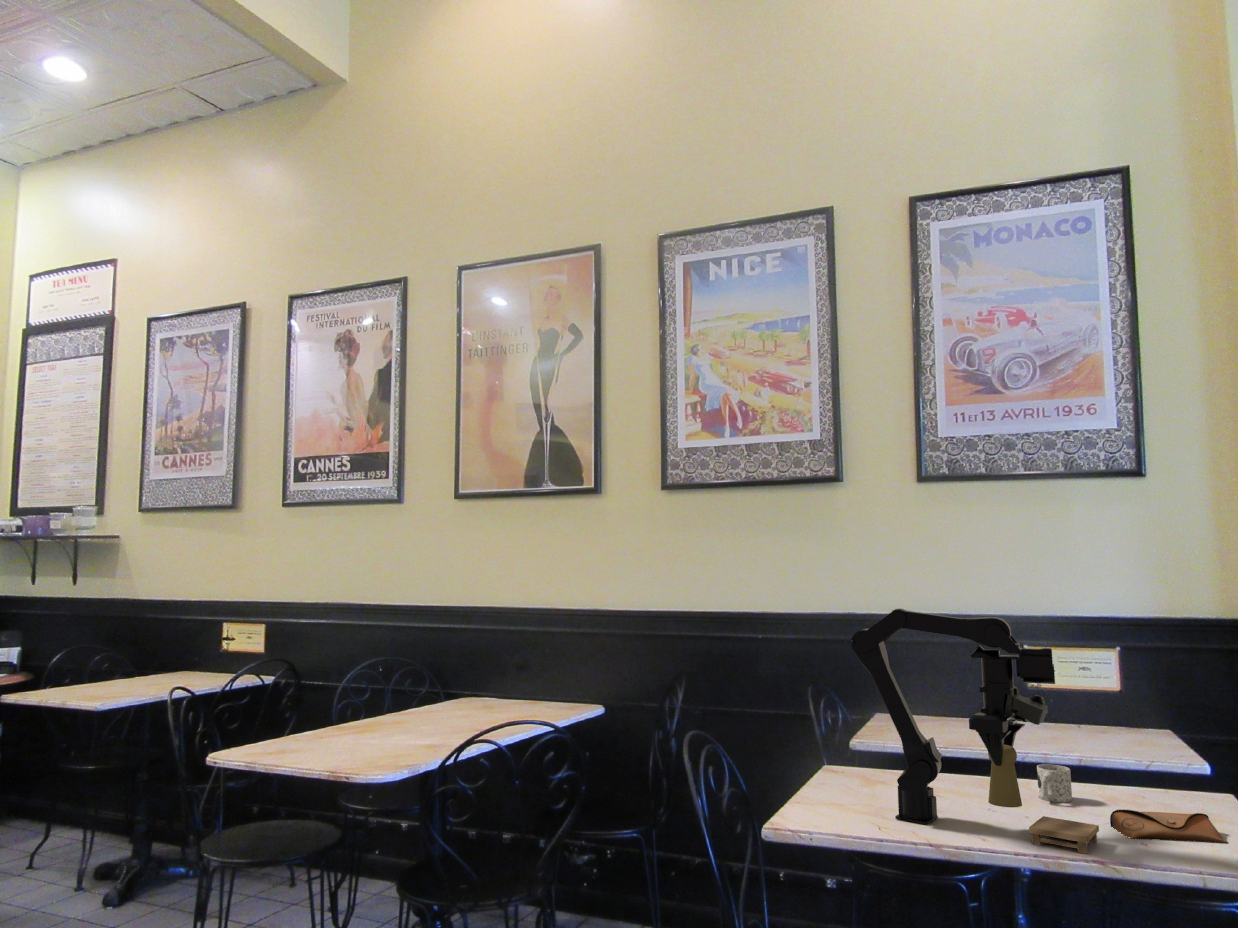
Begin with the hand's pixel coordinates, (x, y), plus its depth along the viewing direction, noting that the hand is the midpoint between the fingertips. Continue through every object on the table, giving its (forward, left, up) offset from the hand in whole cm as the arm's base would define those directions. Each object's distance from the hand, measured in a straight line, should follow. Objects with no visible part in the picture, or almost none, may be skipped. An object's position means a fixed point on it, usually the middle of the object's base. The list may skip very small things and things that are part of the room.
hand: (1002, 763), depth 170 cm
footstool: (+11, -2, -12) cm, 17 cm away
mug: (+1, +30, -13) cm, 33 cm away
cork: (0, 0, -8) cm, 8 cm away
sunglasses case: (+25, +17, -13) cm, 32 cm away
